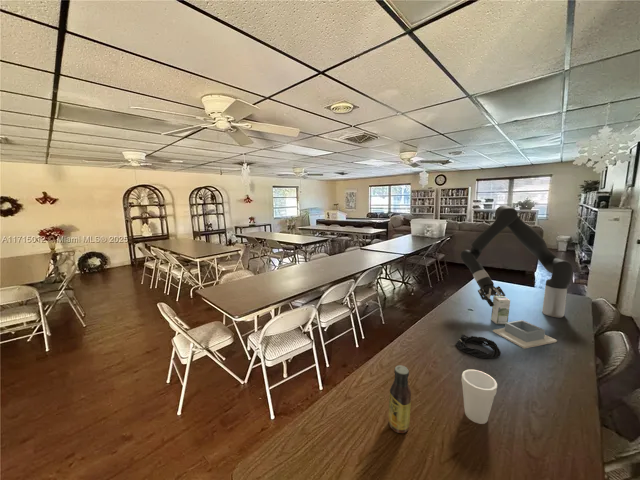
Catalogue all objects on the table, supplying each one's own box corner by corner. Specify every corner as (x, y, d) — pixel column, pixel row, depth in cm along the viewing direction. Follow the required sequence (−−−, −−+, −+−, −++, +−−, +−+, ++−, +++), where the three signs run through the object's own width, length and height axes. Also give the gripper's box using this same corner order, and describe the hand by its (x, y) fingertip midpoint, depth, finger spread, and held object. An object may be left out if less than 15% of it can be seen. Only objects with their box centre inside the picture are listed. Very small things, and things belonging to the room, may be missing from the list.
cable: (504, 352, 116) (505, 343, 115) (494, 366, 107) (495, 356, 106) (463, 337, 128) (464, 329, 128) (451, 348, 120) (452, 340, 119)
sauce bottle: (385, 418, 82) (386, 362, 79) (404, 416, 83) (406, 360, 80) (392, 436, 76) (394, 376, 73) (413, 434, 76) (415, 374, 73)
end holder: (523, 326, 138) (524, 316, 137) (556, 342, 122) (558, 331, 122) (493, 331, 133) (493, 321, 132) (524, 348, 118) (525, 337, 117)
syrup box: (501, 320, 145) (503, 295, 143) (508, 325, 139) (510, 299, 137) (490, 319, 146) (492, 295, 143) (496, 324, 140) (499, 299, 138)
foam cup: (480, 432, 77) (483, 394, 74) (453, 409, 85) (455, 374, 83) (500, 421, 80) (504, 384, 78) (472, 400, 89) (475, 366, 87)
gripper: (477, 277, 147) (493, 304, 138) (497, 275, 150) (514, 301, 141) (469, 283, 153) (483, 309, 143) (488, 281, 156) (504, 306, 147)
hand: (498, 305), depth 142 cm, fingers open, 8 cm apart
